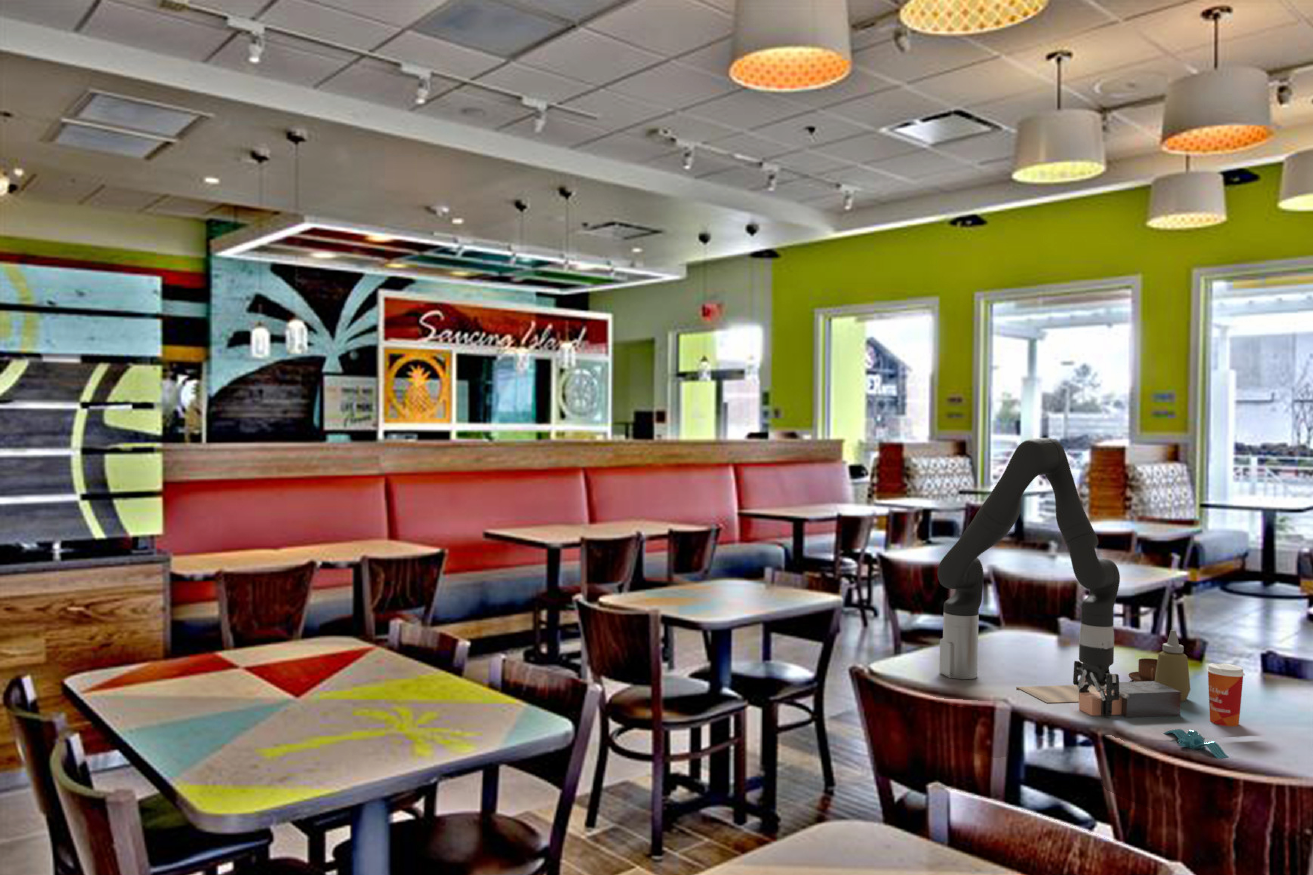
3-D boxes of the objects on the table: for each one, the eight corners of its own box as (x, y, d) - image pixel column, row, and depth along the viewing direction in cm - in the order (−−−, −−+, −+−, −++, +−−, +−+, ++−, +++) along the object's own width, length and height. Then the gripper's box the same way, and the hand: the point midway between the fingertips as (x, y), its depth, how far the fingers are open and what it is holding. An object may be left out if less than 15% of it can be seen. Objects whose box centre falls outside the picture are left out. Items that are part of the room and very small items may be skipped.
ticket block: (1091, 715, 225) (1092, 698, 225) (1079, 709, 230) (1079, 692, 230) (1160, 712, 228) (1160, 696, 228) (1146, 706, 233) (1146, 690, 233)
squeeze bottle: (1194, 707, 237) (1196, 634, 236) (1159, 704, 238) (1161, 632, 238) (1183, 698, 245) (1185, 628, 244) (1149, 695, 246) (1151, 626, 246)
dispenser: (1124, 722, 224) (1124, 693, 224) (1097, 709, 234) (1098, 682, 233) (1180, 719, 226) (1181, 691, 226) (1152, 707, 236) (1152, 680, 236)
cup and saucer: (1184, 691, 251) (1185, 668, 251) (1135, 688, 254) (1136, 665, 254) (1170, 680, 263) (1170, 657, 263) (1123, 677, 266) (1123, 654, 265)
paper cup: (1197, 721, 225) (1199, 662, 225) (1228, 721, 226) (1229, 662, 225) (1220, 732, 217) (1221, 670, 217) (1251, 731, 218) (1253, 670, 218)
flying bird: (1150, 739, 213) (1150, 722, 213) (1173, 736, 215) (1173, 719, 215) (1210, 762, 199) (1210, 743, 199) (1234, 758, 201) (1234, 740, 201)
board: (1046, 707, 235) (1047, 702, 235) (1016, 691, 248) (1016, 686, 248) (1142, 703, 239) (1142, 699, 239) (1106, 688, 253) (1107, 683, 253)
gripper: (1064, 636, 234) (1063, 702, 234) (1100, 650, 220) (1099, 720, 220) (1092, 636, 235) (1090, 701, 236) (1130, 649, 221) (1128, 719, 222)
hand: (1095, 710), depth 228 cm, fingers open, 8 cm apart
